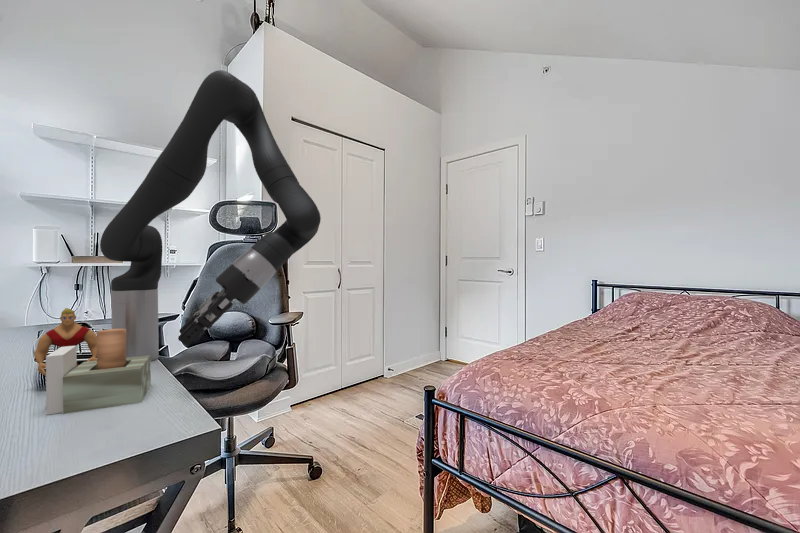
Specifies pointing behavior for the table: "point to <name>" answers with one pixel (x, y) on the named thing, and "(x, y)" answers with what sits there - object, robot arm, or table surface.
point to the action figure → (65, 338)
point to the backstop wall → (58, 376)
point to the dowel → (111, 348)
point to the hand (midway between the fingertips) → (182, 338)
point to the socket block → (106, 385)
